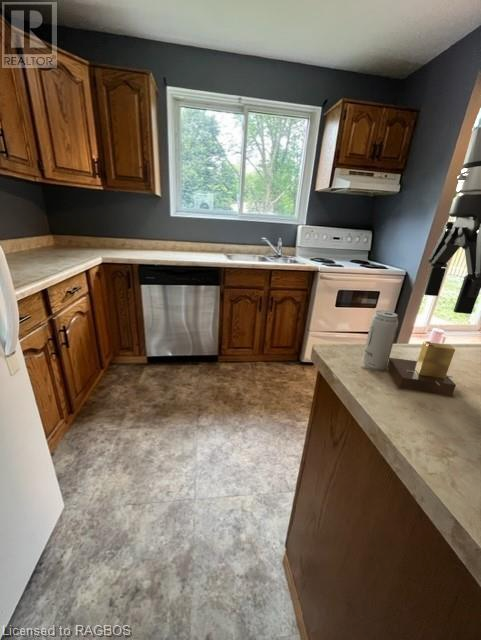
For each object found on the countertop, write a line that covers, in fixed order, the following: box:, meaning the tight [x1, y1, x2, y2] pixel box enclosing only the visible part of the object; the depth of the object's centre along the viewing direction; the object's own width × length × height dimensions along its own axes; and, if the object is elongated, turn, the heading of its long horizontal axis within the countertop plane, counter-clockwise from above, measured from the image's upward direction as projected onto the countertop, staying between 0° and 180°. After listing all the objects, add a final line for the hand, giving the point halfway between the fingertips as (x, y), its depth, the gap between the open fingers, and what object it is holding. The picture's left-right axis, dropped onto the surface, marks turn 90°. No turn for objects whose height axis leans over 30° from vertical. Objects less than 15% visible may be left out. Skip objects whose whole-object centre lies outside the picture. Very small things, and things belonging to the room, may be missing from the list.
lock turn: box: [415, 340, 456, 378], centre depth 63 cm, size 6×2×8 cm, turn 78°
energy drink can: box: [361, 310, 399, 372], centre depth 70 cm, size 6×6×15 cm
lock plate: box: [386, 357, 457, 397], centre depth 65 cm, size 12×11×3 cm
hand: (444, 303), depth 58 cm, fingers open, 13 cm apart
